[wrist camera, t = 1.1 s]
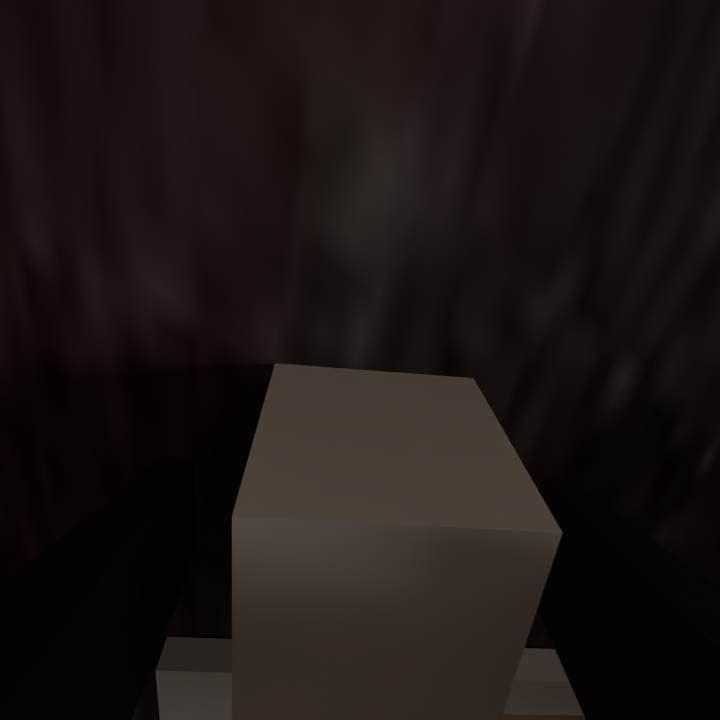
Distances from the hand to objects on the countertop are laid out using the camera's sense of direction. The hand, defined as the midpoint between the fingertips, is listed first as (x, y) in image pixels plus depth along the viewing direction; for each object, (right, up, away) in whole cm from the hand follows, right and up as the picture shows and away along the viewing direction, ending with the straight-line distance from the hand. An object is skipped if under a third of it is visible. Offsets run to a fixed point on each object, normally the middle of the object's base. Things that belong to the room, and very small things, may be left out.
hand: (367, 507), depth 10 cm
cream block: (0, +1, +2) cm, 2 cm away
